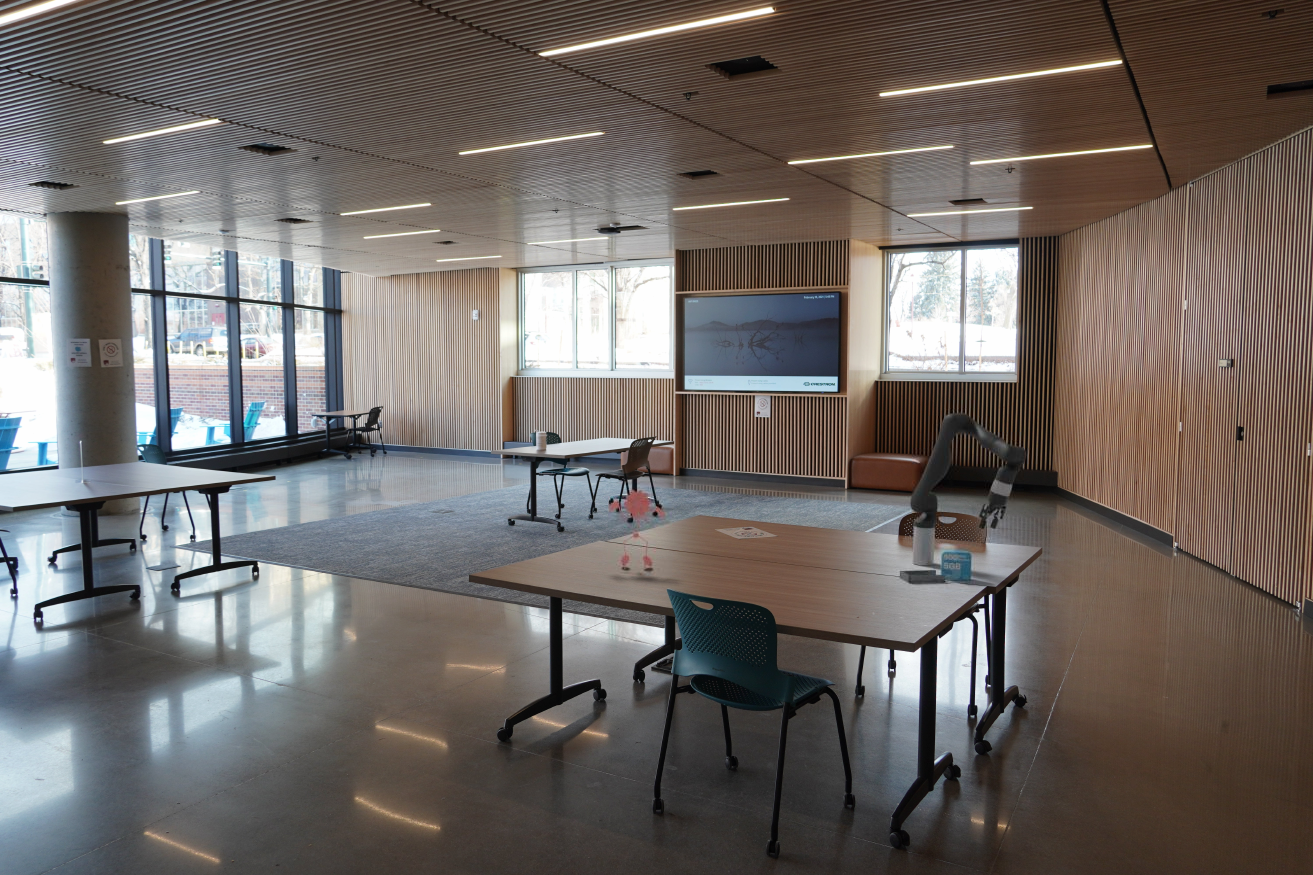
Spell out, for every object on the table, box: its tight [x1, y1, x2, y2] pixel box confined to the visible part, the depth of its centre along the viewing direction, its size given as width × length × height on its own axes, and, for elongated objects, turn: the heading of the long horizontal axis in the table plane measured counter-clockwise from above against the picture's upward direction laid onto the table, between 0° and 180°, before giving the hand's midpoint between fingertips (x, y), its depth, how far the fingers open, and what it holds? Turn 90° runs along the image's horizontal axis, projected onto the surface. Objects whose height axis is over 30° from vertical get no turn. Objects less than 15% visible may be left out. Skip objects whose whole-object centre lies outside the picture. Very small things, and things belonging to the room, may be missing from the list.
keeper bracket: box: [899, 569, 946, 584], centre depth 381 cm, size 10×16×3 cm, turn 98°
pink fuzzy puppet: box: [608, 489, 666, 571], centre depth 405 cm, size 15×26×35 cm, turn 80°
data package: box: [940, 549, 972, 581], centre depth 383 cm, size 12×4×12 cm, turn 76°
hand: (987, 528), depth 372 cm, fingers open, 8 cm apart
